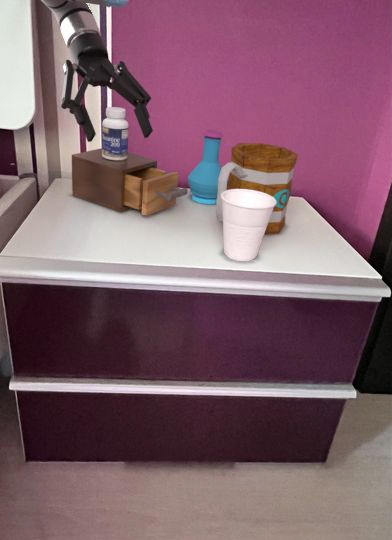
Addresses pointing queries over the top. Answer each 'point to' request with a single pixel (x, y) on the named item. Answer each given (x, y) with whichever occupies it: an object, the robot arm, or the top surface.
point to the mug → (260, 177)
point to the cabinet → (104, 177)
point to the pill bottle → (115, 134)
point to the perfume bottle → (207, 170)
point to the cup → (245, 222)
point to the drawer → (151, 190)
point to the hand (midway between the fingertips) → (121, 136)
